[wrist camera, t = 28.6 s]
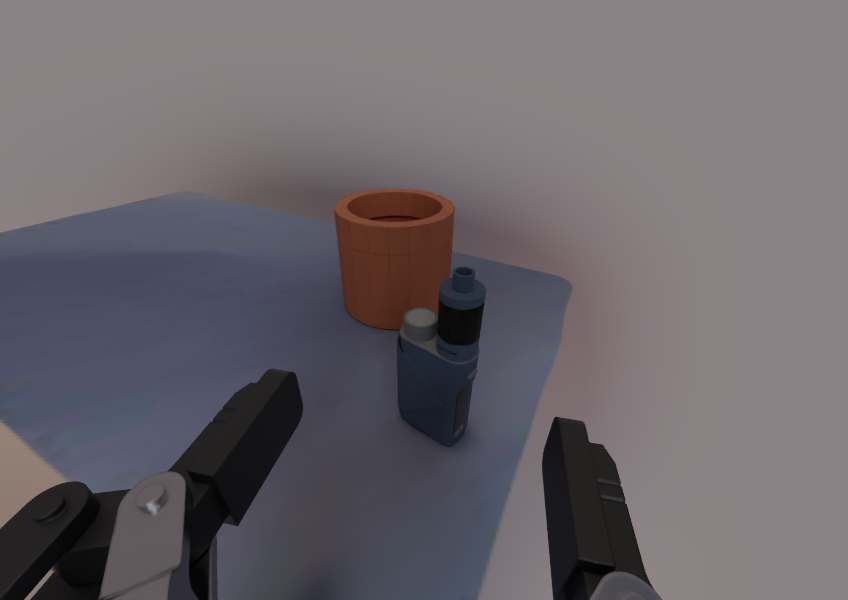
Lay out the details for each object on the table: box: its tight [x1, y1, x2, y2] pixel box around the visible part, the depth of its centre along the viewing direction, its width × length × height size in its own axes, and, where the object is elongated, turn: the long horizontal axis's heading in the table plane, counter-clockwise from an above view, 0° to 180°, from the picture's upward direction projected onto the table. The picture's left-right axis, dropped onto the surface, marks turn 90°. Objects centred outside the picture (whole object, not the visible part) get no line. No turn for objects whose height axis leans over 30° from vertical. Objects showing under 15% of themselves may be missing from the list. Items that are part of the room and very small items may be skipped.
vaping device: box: [397, 267, 486, 446], centre depth 22 cm, size 3×5×12 cm, turn 53°
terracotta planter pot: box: [334, 189, 455, 329], centre depth 35 cm, size 11×11×10 cm
